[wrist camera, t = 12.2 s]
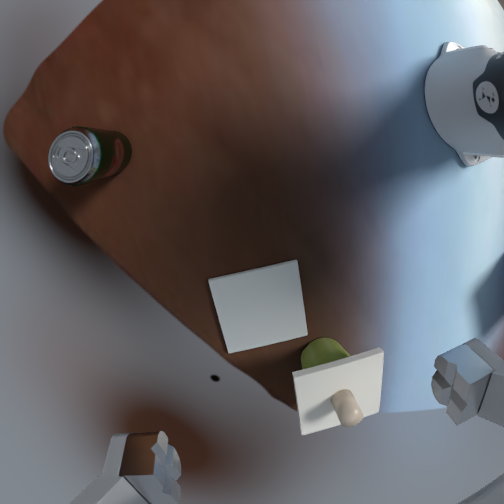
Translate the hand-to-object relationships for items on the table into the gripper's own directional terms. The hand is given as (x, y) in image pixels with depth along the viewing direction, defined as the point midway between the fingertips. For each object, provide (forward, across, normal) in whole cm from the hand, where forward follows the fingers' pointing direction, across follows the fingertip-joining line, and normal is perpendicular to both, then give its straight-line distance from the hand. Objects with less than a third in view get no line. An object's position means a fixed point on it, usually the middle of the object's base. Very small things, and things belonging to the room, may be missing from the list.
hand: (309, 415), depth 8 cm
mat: (+31, 0, +13) cm, 34 cm away
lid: (+22, -7, +23) cm, 33 cm away
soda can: (+31, +12, -10) cm, 35 cm away
